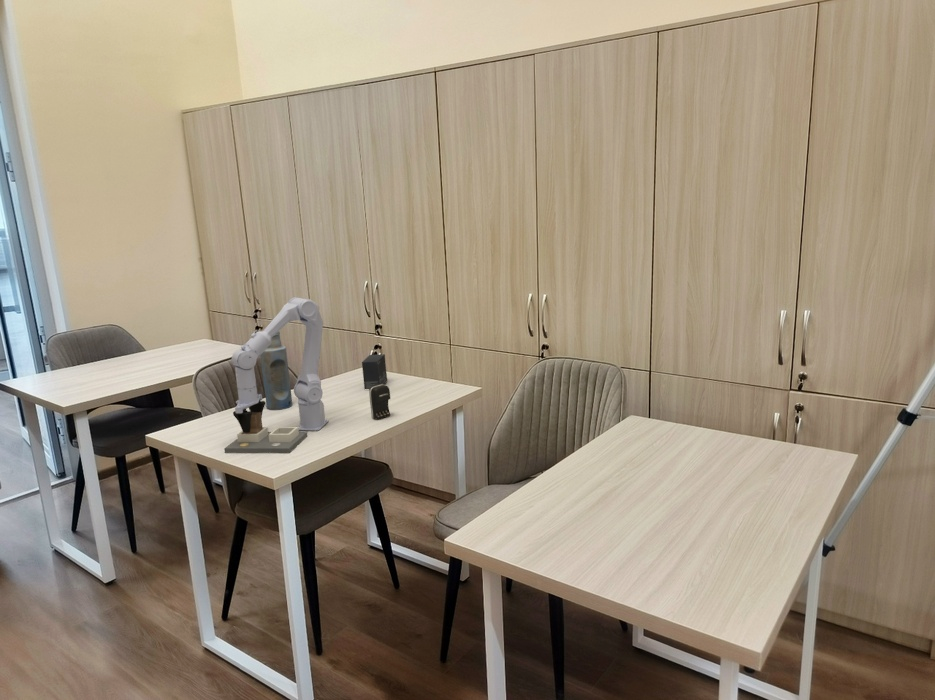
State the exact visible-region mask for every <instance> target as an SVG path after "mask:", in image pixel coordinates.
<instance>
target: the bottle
mask: <svg viewBox="0 0 935 700" xmlns="http://www.w3.org/2000/svg"><path fill="white" fill-rule="evenodd" d="M280 334H281V333H280V330H279V331H278V332H277V333H276V334H275V335H274V336H273V337H272V338H271V344H270V345H269V346H268V347H267V349H266V350H265V351H264V352H263V353H262V354H261V355H260V356H259V357H260V363H261V365H260V366H261V374H262V382H263V386H264V387H263V388H264V396H265V405H266V409H268V410H272V411H278V410H279V409H280V410H284V409H288V408H290V407H291V406H293V399H292V398H293V397H292V389H291V388H292V387H291V380H290V371H289V370H290V369H289V362H288V354H287V346H285V345H283V344H282V341H281V340H282V339H281V336H280Z"/></svg>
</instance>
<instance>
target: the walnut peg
mask: <svg viewBox="0 0 935 700" xmlns="http://www.w3.org/2000/svg"><path fill="white" fill-rule="evenodd" d="M250 426H251V429H250V432H249V433H245V434H257V433H258V432H260V431H261V430H262V429H263V421H262V419H261V412H252V415H251V421H250Z"/></svg>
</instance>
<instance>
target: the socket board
mask: <svg viewBox="0 0 935 700" xmlns="http://www.w3.org/2000/svg"><path fill="white" fill-rule="evenodd" d="M262 427H263V426H262ZM298 427H299V426H281V427H280V426H278V427H276V428H275V429H274V430H272V431H269V429H268V426H266V427H265V426H264V427H263V429H262V430H261V431H260V432H258V433H257V434H245V433H243V431H242V430H241V431H240V432H238V433H237V434H236V439H235V440H234V441H233V442H231V443H230V444H228V445H227V446H225V447H224V449H223V450H224V453H225V454H290V453H291V452H292V451H294V450H295V448H296V447H297V445H298V446H299V445H300V444H301V443H302V442H303V441H304V440H305V439H307V437H308V435H309V434H308V431H300V430H299V429H298Z"/></svg>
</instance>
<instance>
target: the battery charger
mask: <svg viewBox="0 0 935 700" xmlns="http://www.w3.org/2000/svg"><path fill="white" fill-rule="evenodd" d="M368 392H369V395H368V396H369V403H370V414H371V419H372V420H381V418H382V419H384V417H385V418H388V417H390V416H391V411H390V409H389V400H391V391H390V388H389V386H388V385H386V384H384V385H377V386H374V387H372V388H370V390H368ZM387 416H388V417H387Z"/></svg>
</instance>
